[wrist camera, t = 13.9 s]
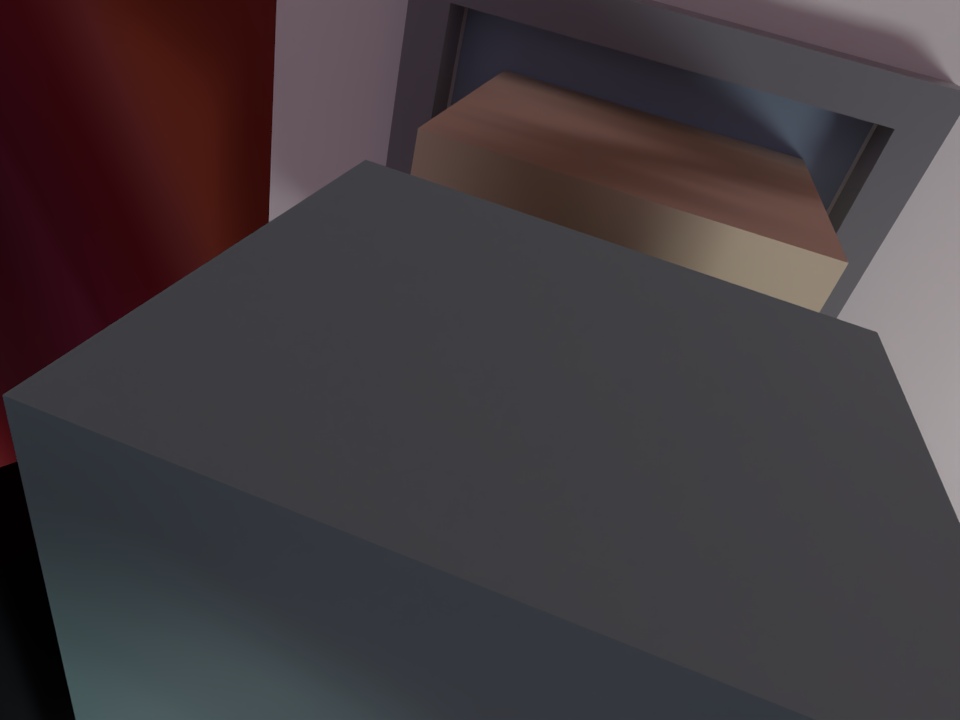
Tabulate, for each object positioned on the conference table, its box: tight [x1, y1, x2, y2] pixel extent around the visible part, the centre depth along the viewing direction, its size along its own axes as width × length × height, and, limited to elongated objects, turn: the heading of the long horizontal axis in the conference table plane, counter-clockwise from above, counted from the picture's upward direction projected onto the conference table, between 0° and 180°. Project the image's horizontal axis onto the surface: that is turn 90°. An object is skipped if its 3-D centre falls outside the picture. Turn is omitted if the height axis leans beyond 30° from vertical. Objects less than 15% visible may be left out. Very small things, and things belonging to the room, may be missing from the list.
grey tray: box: [269, 0, 960, 522], centre depth 15 cm, size 20×12×3 cm, turn 78°
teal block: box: [3, 160, 960, 720], centre depth 7 cm, size 6×6×5 cm
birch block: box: [410, 70, 848, 312], centre depth 13 cm, size 6×6×5 cm
